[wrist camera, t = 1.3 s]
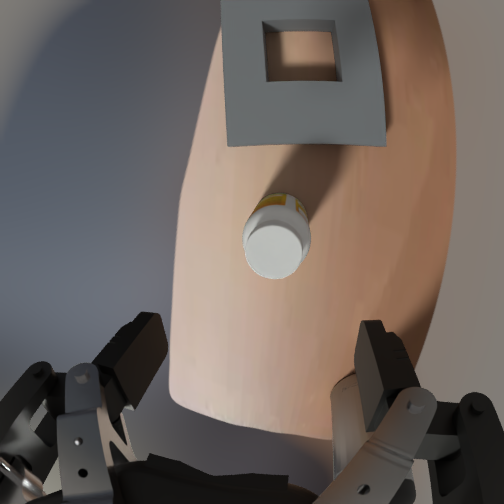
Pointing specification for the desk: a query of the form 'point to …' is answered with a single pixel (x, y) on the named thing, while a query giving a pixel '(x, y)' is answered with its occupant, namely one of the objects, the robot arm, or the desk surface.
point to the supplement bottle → (277, 236)
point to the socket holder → (302, 92)
